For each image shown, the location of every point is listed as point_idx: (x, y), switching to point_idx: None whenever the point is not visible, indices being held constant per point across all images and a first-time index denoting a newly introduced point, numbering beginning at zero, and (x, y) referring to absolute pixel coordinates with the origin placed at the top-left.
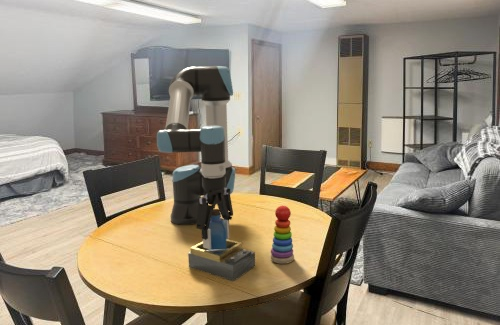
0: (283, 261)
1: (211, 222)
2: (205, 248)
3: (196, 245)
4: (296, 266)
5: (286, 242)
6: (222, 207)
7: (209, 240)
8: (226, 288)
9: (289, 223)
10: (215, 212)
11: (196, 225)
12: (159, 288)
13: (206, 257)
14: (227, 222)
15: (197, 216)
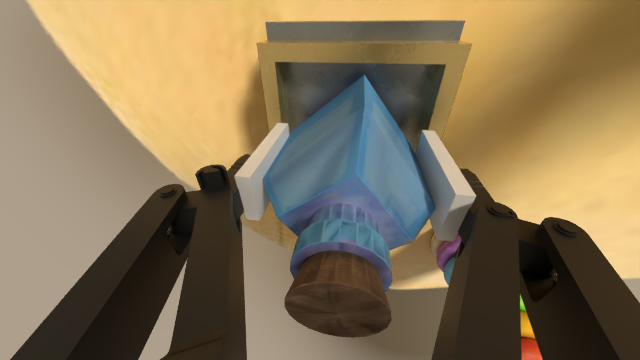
0: (433, 254)
1: (291, 225)
2: (351, 66)
3: (296, 53)
4: (431, 266)
5: None
6: (436, 350)
7: None
8: None
9: None
10: (301, 317)
11: (149, 198)
12: (134, 48)
13: None
14: (436, 229)
15: (99, 260)
